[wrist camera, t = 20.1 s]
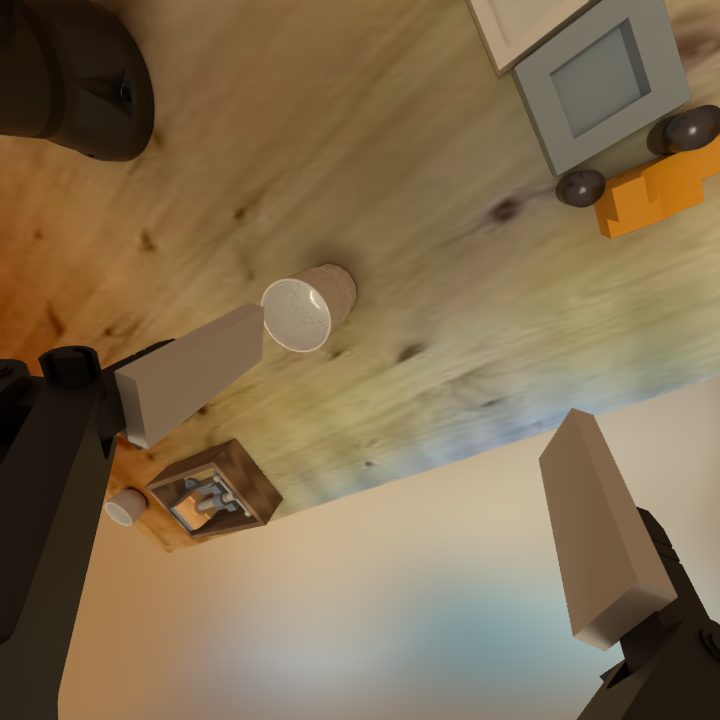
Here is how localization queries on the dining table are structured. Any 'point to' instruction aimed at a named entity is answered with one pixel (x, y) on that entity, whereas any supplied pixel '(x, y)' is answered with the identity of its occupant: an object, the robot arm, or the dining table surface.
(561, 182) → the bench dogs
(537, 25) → the tray
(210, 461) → the tool caddy
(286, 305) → the white cup
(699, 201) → the pipe clamp
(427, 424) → the dining table surface
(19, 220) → the dining table surface
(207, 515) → the vise
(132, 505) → the teacup
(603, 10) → the jig block
